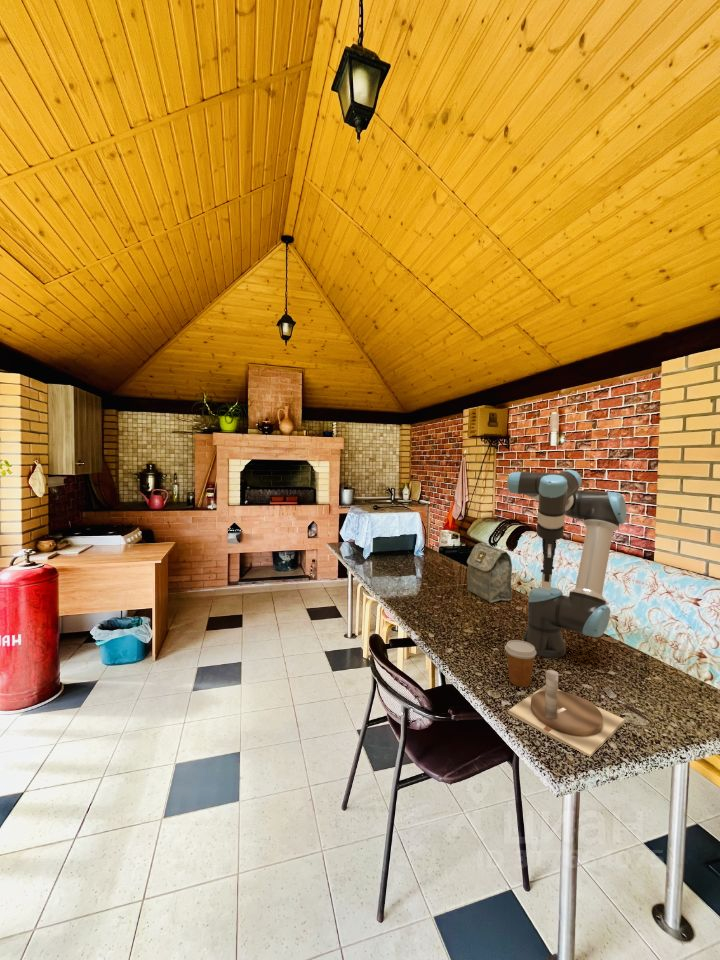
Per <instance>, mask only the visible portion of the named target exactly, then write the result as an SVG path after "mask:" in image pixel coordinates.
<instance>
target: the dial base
mask: <svg viewBox="0 0 720 960" xmlns="http://www.w3.org/2000/svg"><path fill="white" fill-rule="evenodd" d="M544 690H546V684H545V685H542V687H540V688H539V689H538V690H535V691H534V692H533V693H532V694H529V696H527V697H525V698H524V699H522V700H521V701H520V702H518V703H517V704H515V705H514V706H512V707H510V708H508V709H507V710H508V712H507V713H508V715H510V716H512V717H514V718H515V719H517V720H520V721H521V722H522V723H524V724H527V725H529V726H530V727H532V728H534V729H536V730H537V731H539V732H541V733H542V734H545V735H546V736H548V737H550V738H551V739H553V740H556V741H557V742H559V743H561V744H562V743H563V744H562V745H564V744H565V745H564V746H566V745H568V746H570V747H571V748H573V749H575V750H577V751H579V752H581V753H583V754H585V755H587V756H589V757H591V756H592V755H593V754H594V753H595V752H596V751H597V750H598V749H599V748H600V747H601V746H602V745H603V744H604V743H605V742H606V741H607V740H608V741H609V740H610V739H611V738H612V737H613V736H614V735H615V734H616V732H617V731H618V730H619V729H620V728H621V727H622V726H623V725H624V724H625V722H626V720H625V718H623V717H621V716H618V715H617V714H615V713H612V712H610V711H608V710H605V709H603V708H601V707H599V706H596V705H594V706H595V707H597V708H598V710H599V711H600V712H601V714H602V716H603V727H602V729H601V730H600V731H599V732H598V733H596V734H592V735H573V734H568V733H564V732H561V731H558V730H556V729H554V728H552V727H550V726H548V725H546V724H545V723H543V722H542V721H540V720H539V719H538V718H537V717H536V716H535V714H534V713H533V711H532V709H531V698H532V696H533V695H534V694H535V693H537V692H540V691H544ZM558 691H562V690H561V689H559V688H558ZM608 741H607V742H608ZM607 742H606V743H607ZM606 743H605V744H606ZM605 744H604V745H605ZM604 745H603V746H604ZM568 746H567V747H568ZM603 746H602V747H603ZM570 747H569V748H570ZM602 747H601V748H602ZM571 748H570V749H571ZM601 748H600V749H601ZM573 749H572V750H573ZM600 749H599V750H600ZM575 750H574V751H575ZM599 750H598V751H599ZM577 751H576V752H577ZM598 751H597V752H598ZM579 752H578V753H579ZM597 752H596V753H597ZM596 753H595V754H596ZM595 754H594V755H595ZM594 755H593V756H594ZM593 756H592V757H593ZM592 757H591V758H592Z"/></svg>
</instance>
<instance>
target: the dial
mask: <svg viewBox="0 0 720 960" xmlns="http://www.w3.org/2000/svg"><path fill="white" fill-rule="evenodd" d="M545 685H546V690H544V691H540V692H537V693H535V694H534V695H533V696H532V698H531V709H532V711H533V713H534V714H535V716H536V717H537V718H538V719H539V720H540V721H542V722H543V723H545V724H546V725H548V726H550V727H552V728H554V729H556V730H558V731H561V732H564V733H568V734H573V735H592V734H596V733H598V732H599V731H600V730H601V729H602V727H603V716H602V714H601V712H600V711H599V710H598V708H597V707H598V706H597V707H595V706H596V705H595V704H594V703H592V702H590V701H589V700H587V699H585V698H583V697H582V696H579V695H577V694H575V693H571V692H569V691H567V692H566V691H563V690H561V691H558V689H559V673H558V671H555V670H553V669H547V670H546V671H545Z"/></svg>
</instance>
